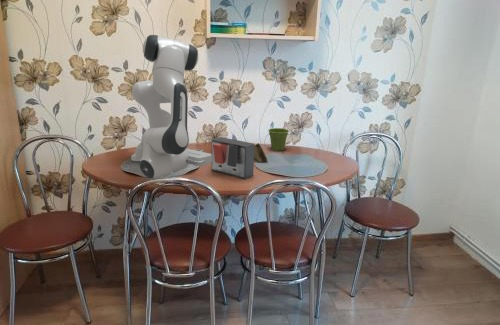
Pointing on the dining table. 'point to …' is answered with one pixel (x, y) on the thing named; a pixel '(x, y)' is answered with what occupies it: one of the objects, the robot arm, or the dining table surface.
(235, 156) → the rocker black
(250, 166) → the rocker switch panel
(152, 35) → the robot arm
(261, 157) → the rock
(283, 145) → the plant pot
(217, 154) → the rocker red
